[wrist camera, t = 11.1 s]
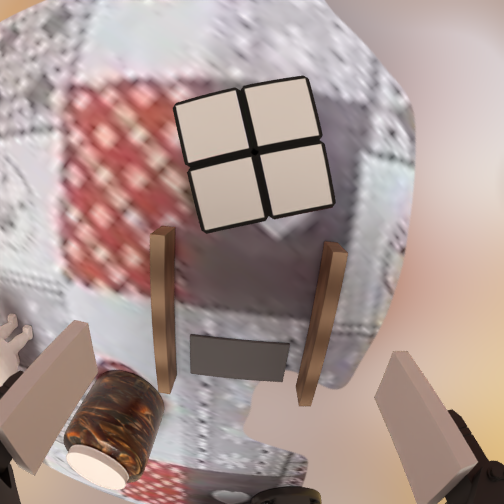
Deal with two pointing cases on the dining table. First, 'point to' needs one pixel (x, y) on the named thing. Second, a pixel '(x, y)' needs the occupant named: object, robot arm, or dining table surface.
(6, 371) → the cat figurine
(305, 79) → the puzzle cube
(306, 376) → the channel
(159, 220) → the dining table surface
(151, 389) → the jar
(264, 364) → the pad
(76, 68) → the dining table surface
